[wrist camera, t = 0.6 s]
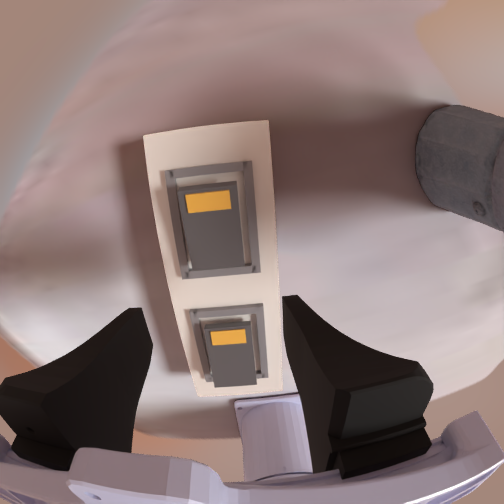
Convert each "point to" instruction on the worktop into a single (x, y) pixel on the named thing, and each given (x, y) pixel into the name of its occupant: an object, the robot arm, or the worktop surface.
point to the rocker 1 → (212, 225)
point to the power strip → (253, 235)
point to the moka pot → (463, 163)
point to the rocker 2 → (231, 353)
